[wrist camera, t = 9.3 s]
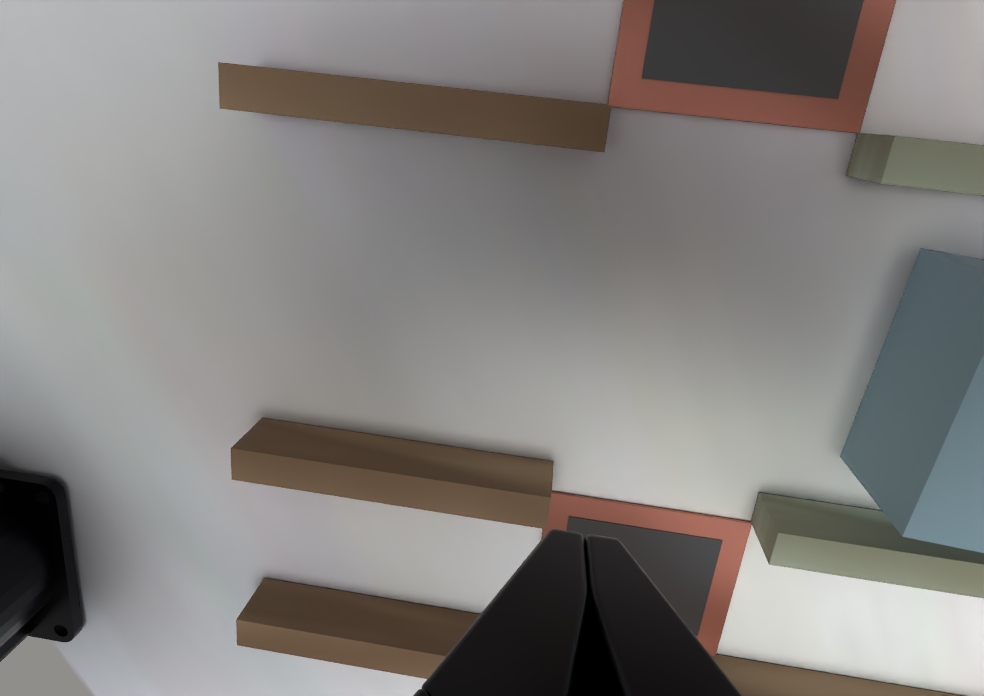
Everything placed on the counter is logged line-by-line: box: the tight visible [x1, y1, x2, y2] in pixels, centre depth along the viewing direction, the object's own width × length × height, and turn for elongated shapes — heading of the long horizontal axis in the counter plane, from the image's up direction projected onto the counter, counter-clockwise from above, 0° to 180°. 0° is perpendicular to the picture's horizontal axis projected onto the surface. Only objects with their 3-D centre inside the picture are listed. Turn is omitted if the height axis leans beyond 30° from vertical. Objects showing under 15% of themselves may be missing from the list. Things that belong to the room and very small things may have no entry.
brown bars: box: [218, 0, 984, 696], centre depth 17 cm, size 23×26×3 cm
